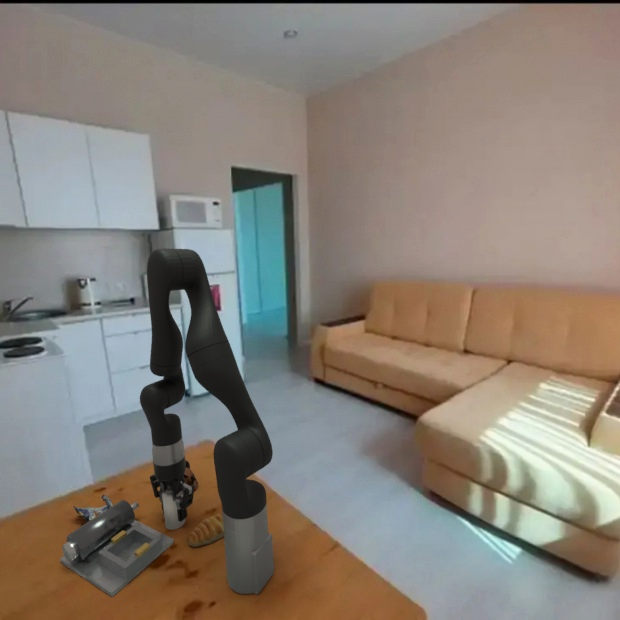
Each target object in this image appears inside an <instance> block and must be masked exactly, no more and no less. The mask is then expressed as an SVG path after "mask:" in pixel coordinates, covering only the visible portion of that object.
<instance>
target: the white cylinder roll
mask: <svg viewBox="0 0 620 620" xmlns="http://www.w3.org/2000/svg"><path fill="white" fill-rule="evenodd" d="M181 494H182V491H181V492H180V493H178V494H177V495H176V497H178V496H179V495H181ZM162 498H163V508H164V514H163V516H164V525H165V528H166V529H167V530H169V531H171V530H172V531H175V530H177V529H180V528H181V527H183V526H184V525H185V524H186V521H187V520H186V518H185V519H184V520H183V521H182V522H180V521H178V514H177V509H178V508H177V506H176V503H175V501H173V500H172V497H171V494H170V492H169V491H168V490H167V489H166V492H165V491H164V493H162ZM181 502H182V498H181V499H180V503H181Z"/></svg>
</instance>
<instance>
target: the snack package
mask: <svg viewBox="0 0 620 620" xmlns="http://www.w3.org/2000/svg"><path fill="white" fill-rule="evenodd" d="M99 497H100V496H98V497H97V498H98V499H99ZM100 498H101V499H102V501H103V502H105V505H103V506H101V507H91V506H85V507H83V508H82V507H76V506H74V505H73V508H74V510H75V511H76V513H77V515H79V516H81V518H83V519H84V520H85V521H86V523H87V522H89V521H90V520H92V519H93V518H95V517H97V516H98V515H100V514H101V513H103V512H104V511H106V510H107V509H109V508H110V507H112V506H113V505H114V504H113V503H112V500H111V498H109V497H108V495H106V494H102V496H101V497H100ZM91 501H93V500H92V499H91ZM95 513H96V514H98V515H96V514H95Z"/></svg>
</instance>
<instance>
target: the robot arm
mask: <svg viewBox="0 0 620 620" xmlns="http://www.w3.org/2000/svg"><path fill="white" fill-rule="evenodd" d="M146 281H147V282H146V283H147V284H146V285H147V293H148V296H147V297H148V306H149V314H150V315H149V316H150V324H151V345H150V357H149V369H150V372H151V373H152V374H153V375H155V376H157V377H163V378H161V379H160V380H158V381H154V382H151V383H149V384H147V385H145V386H144V387H143V388H142V390H141V391H140V395H139V403H140V406H141V409H142V411H143V413H144V415H145V417H146V420H147V422H148V425H149V428H150V434H151V444H152V446H151V447H152V448H151V454H152V464H153V474H152V475H150V476H149V480H150V484H151V488H152V492H153V495H154V497H155V499H158V498H159V499H158V500H159V502H161V510H162V514H163V515H164V508H163V498H162V493H164V491H165V492H166V489H167V490H168V491H169V492H170V494H171V497H172V500H173V501H175V503H176V506H177V508H178V509H177V514H178V521H180V522H182V521H183V520H184V519H186V518H187V517H188V508H189V507H190V506H192V504H193V503H194V494H195V489H194V485H193V484H187V483H186V482H187V481H186V482H185V480H186V478H185V479H184V473H185V470H186V463H185V460H186V456H185V455H186V453H185V444H184V439H183V432H182V424H181V418H180V416H179V415H178V414H176V413H165V410H167V409H168V408H171V407H173V406H175V405H177V404H179V403H180V402H181V401H183V398H184V397H185V394H186V383H185V379H184V372H183V369H182V362H183V361H182V359H183V350H184V349H185V355H186V358H187V360H188V362H189V365H190V369H191V371H192V374H193V376H194V378H195V380H196V382H197V383H198V384H199V385H200V386H201V387H202V388H204V390H206V391H207V392H208V393H210V395H212V396H213V397H215V398H216V399H217V400H218V401H219V402H220V403H222V404H223V405H224V406H225V408H226V409H227V410H228V412H229V413H230V415H231V417H232V419H233V421H234V423H235V426H236V428H237V430H235V431H233V432H231V433H230V434H226V435H225V436H222V437H221V438H220V439H218V440H217V441H216V443H215V444H214V447H213V463H214V470H215V477H216V484H217V492H218V496H219V499H220V502H221V511H222V514H221V515H222V517H223V529H224V536H223V540H224V541H223V543H224V553H225V555H224V556H225V566H226V568H225V569H226V580H227V584H228V586H229V588H230V589H231V590H232V591H233V592H235V593H237V594H243V595H248V594H255V595H259V594H260V593H261V591H262V590H263V589H264V587H265V585H266V584H267V583H268V581H269V580H270V578H272V576H273V575H274V572H275V565H274V564H275V563H274V547H273V545H274V542H273V534H272V533H270V532H269V524H268V522H269V521H268V505H267V503H268V502H267V490H266V488H265V486H264V485H263V484H262V483H261V482H259V481H257V480H254V479H249V477H250V476H252V475H254V474H255V473H257V472H259V471H260V470H262V469H264V468H265V467H266V466H268V465H269V464H271V461H272V459H273V454H274V453H273V446H272V442H271V439H270V436H269V434H268V432H267V429H266V427H265V424H264V423H263V421H262V418H261V417H260V414H259V413H258V411H257V409H256V407H255V405H254V403H253V401H252V398H251V396H250V394H249V392H248V389H247V387H246V384H245V382H244V379H243V377H242V374H241V371H240V369H239V366H238V362H237V360H236V357H235V354H234V352H233V349H232V347H231V344H230V342H229V338H228V336H227V334H226V332H225V330H224V326H223V324H222V321H221V318H220V316H219V312H218V310H217V307H216V304H215V301H214V300H215V299H214V296H213V293H212V289H211V286H210V282H209V278H208V274H207V271H206V267H205V265H204V262H203V260H202V258H201V256H200V255H199V254H198V252H196V251H195V250H193V249H188V248H157V249H154V250H152V251H151V253H150V254H149V257H148V258H147V265H146ZM182 290H183V291H184V292H185V293H186V296H187V298H188V302H189V307H190V319H189V323H188V328H187V331H186V337H185V343H184V339H183V335H182V332H181V329H180V328H179V326H178V324H177V323H176V321H175V319H174V317H173V314H172V311H171V309H170V296H171V292H172V291H182ZM158 488H159V490H158ZM181 491H182V494H181V495H179V496H178V497H176V495H177V494H178V493H180V492H181ZM181 498H182V502H181V503H180V499H181Z"/></svg>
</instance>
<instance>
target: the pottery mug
mask: <svg viewBox="0 0 620 620" xmlns="http://www.w3.org/2000/svg"><path fill="white" fill-rule="evenodd" d="M185 463H186V470H185V473H184V479H185V482H186V484H187V483H188V481H186V479H188V478H189V479H190V481H191V482H193V485H194V492H195V491H198V488H199V482H198V481H197V478H196V476H195V474H194V472H193V471H192V470H191V466H190V465H191V464H190V462H189V461H188V460H187V459H185Z"/></svg>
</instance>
